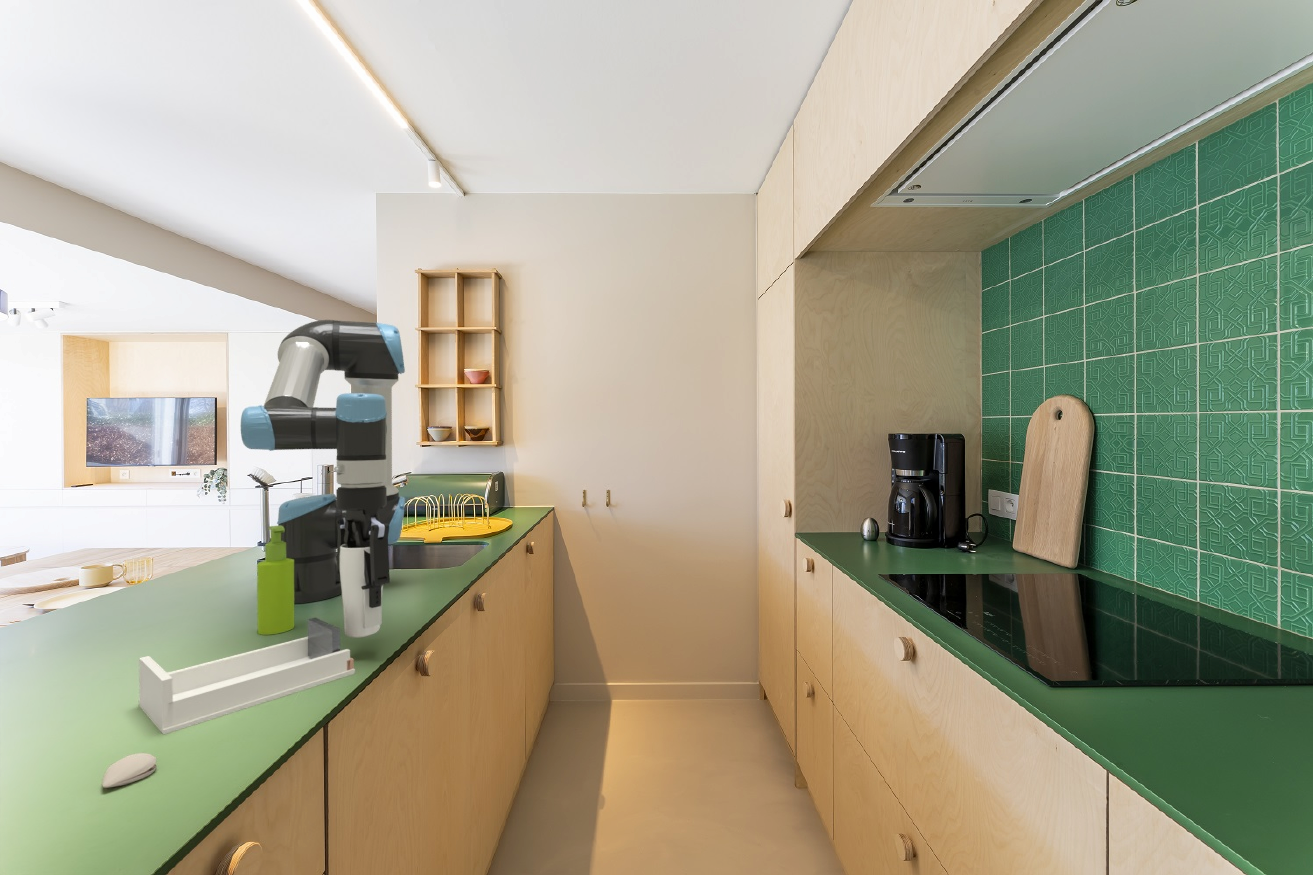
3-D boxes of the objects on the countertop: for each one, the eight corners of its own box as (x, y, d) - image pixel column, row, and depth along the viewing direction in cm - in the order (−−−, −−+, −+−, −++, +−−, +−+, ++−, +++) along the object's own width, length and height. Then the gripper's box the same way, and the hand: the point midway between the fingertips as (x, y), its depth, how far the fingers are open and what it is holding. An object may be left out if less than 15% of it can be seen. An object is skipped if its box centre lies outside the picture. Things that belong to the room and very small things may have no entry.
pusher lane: (319, 654, 96) (319, 614, 96) (355, 674, 88) (354, 630, 88) (138, 706, 78) (138, 657, 78) (163, 736, 70) (163, 681, 70)
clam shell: (166, 770, 63) (166, 747, 63) (125, 798, 58) (125, 774, 58) (126, 771, 63) (126, 748, 63) (82, 799, 58) (82, 775, 58)
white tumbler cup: (334, 632, 96) (334, 544, 96) (376, 623, 100) (376, 539, 100) (346, 643, 91) (346, 550, 91) (390, 633, 96) (390, 544, 96)
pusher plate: (315, 653, 94) (315, 617, 94) (340, 666, 89) (340, 628, 89) (307, 655, 93) (307, 619, 93) (332, 669, 88) (332, 630, 88)
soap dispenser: (260, 638, 104) (259, 529, 104) (255, 628, 109) (255, 525, 109) (297, 631, 108) (297, 526, 108) (291, 622, 113) (291, 522, 113)
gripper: (313, 483, 98) (314, 616, 99) (366, 490, 87) (367, 640, 87) (357, 481, 104) (358, 606, 105) (413, 486, 93) (413, 627, 93)
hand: (362, 621), depth 96 cm, fingers closed on white tumbler cup, 6 cm apart
